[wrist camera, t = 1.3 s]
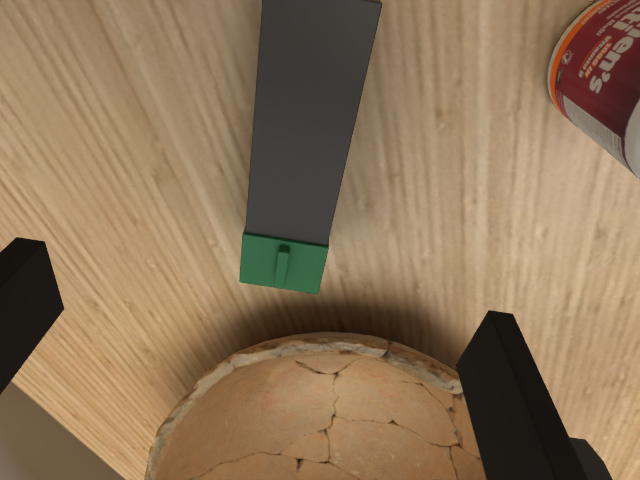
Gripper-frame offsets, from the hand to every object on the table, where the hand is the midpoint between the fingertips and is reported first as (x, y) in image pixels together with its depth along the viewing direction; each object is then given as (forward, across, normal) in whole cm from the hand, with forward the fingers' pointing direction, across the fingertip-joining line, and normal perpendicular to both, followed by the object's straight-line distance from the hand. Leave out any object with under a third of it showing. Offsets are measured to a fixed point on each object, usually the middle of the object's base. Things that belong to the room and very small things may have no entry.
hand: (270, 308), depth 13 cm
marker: (+13, 0, 0) cm, 13 cm away
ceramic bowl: (+13, +7, -26) cm, 30 cm away
